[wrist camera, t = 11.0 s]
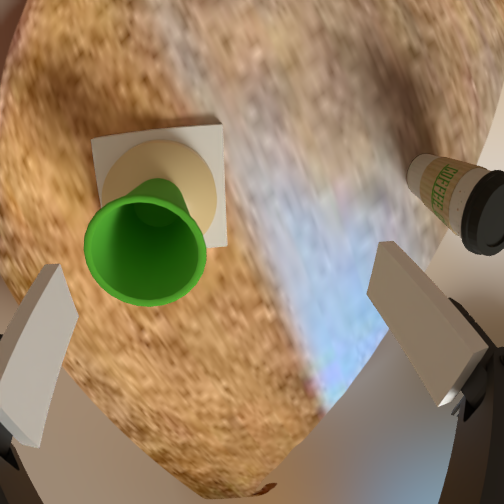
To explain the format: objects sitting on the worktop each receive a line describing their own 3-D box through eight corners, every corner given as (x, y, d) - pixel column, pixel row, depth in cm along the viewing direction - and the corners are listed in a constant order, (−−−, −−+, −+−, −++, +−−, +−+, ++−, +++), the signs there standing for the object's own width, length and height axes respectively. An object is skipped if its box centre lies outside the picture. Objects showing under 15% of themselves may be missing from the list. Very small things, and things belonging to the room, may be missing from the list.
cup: (158, 257, 34) (148, 325, 24) (98, 200, 30) (60, 253, 20) (221, 204, 32) (233, 259, 23) (160, 139, 28) (141, 167, 18)
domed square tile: (94, 137, 30) (83, 143, 27) (222, 123, 32) (224, 127, 28) (113, 251, 37) (107, 267, 33) (226, 241, 38) (229, 256, 35)
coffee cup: (384, 171, 37) (462, 219, 24) (432, 126, 35) (517, 157, 22) (413, 221, 42) (481, 277, 29) (456, 179, 39) (529, 222, 26)
